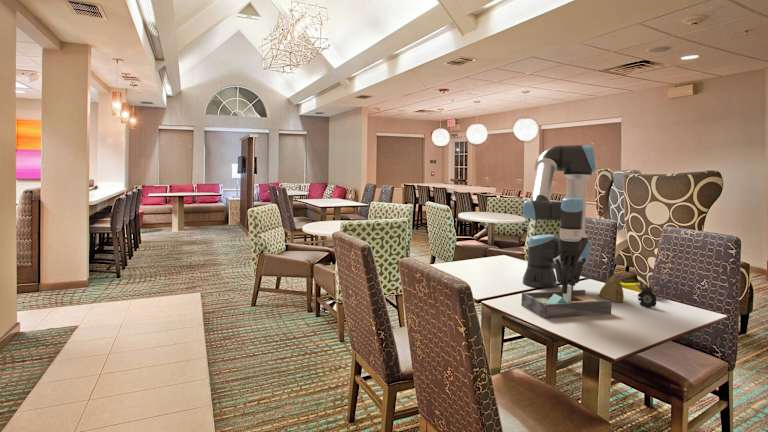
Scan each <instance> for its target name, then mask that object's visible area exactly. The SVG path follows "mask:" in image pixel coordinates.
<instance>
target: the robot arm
mask: <svg viewBox="0 0 768 432" xmlns="http://www.w3.org/2000/svg"><path fill="white" fill-rule="evenodd" d="M594 149H595V148H594V147H593V146H591V145H586V144H585V145H584V144H578V145H577V144H576V145H575V144H574V145H573V144H572V145H570V144H569V145H553V146H551V147H549V148H547V149H545V150H544V151H543V152H541V153H540V154H539V156H538V157H537V159H536V161H535V164H534V170H535V176H534V180H533V185H532V191H531V195H530V199H529V200H528V199H527V200H524V201H523V205H522V206H523V207H522V216H523V218H524V219H529V220H533V221H534V220H541V221H542V220H543V221H558V222H559V221H560V225H559V236H558V237H559V238H557V237H556V235H555V234H537V235H533V236H531V237H529V238H528V245H527V247H528V251H527V266H526V270H525V272H524V274H523V277H522V283H523V284H524V285H525V286H529V287H532V288H539V289H540V288H542V289H550V288H555V287H557V285H558V284H561V291H562V293H563V299H564V300H565V301H566V302H567V303H571V293H573V290H574V287H575V286H576V284H578V283H579V281H580V279H581V274H582V270H583V267H584V266H586V265H587V264H588V262H589V261H588V260H589V255H590V249H591V245H592V241H591V240H590V239H589V236H588V235H587V234H586V231H585V230H586V228H585V227H586V217H587V216H586V215H587V214H586V213H587V211H586V210H587V198H588V195H587V194H588V181H589V179H590V178H591V177H592V174H593V173H594V172H596V159H595V150H594ZM556 172H563V176H564V178H566V191H565V197H562V199H561V201H556V200H555V201H553V200H552V201H551V195H552V188H553V183H554V175H555V174H556Z"/></svg>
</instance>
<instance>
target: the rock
mask: <svg viewBox="0 0 768 432" xmlns="http://www.w3.org/2000/svg"><path fill="white" fill-rule="evenodd" d="M598 295H599V296H598V297H601V298H603V299H605V298H606V299H605V300H609V299H610V300H611V301H612V300H613V301H614V302H617V303H624V299H625V296H624V290H623V286H622V283H621V281H620V278H619V277H618V276H616V275H615V274H612V275H611V276H610V277H609V278H608V279H607V280H606V282H605V284H604V285H603V286H602V288H601V289H600V291H599V293H598ZM613 301H612V302H613Z"/></svg>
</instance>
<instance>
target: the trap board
mask: <svg viewBox="0 0 768 432" xmlns="http://www.w3.org/2000/svg"><path fill="white" fill-rule="evenodd" d="M553 294H556V295H558V296H561V297H562V298H563V293H562V290H556V291H555V290H554V291H536V292H535V291H533V292H521V303H520V305H521V307H524V308H525V309H527V310H528V311H530V312H532V313H534V314H535V315H538V316H539V317H541V318H543V319H557V318H558V319H559V318H569V317H570V318H571V317H584V316H599V315H600V316H601V315H611V314H612V305H613V301H612V300H609V299H605V300H598V299H595V298H594V297H591V296H588V295H586V289H573V293H571V303H555V304H546V302H547V301H548V300H549V299H550V298H551V297H552V295H553Z"/></svg>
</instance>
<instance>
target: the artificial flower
mask: <svg viewBox="0 0 768 432" xmlns="http://www.w3.org/2000/svg"><path fill="white" fill-rule="evenodd" d="M647 282H648V284H649V285H648V284H647V283H645V282H643V285H642V286H643V287H642V286H641V285H640V284H639V283H635V286H637V288H638V289H639V290H641V292H639V293H638V295H637V301H638V303H639V305H640V306H641V307H642V306H646V307H645V308H647V307H648V308H653V307H655V306H656V305H657V297H656V295H655V294H654V293H653V292H655V291H656V290H659V286H656V287H654V288H652V287H653V285H652V281H651V279H649V278H648V281H647Z"/></svg>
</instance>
